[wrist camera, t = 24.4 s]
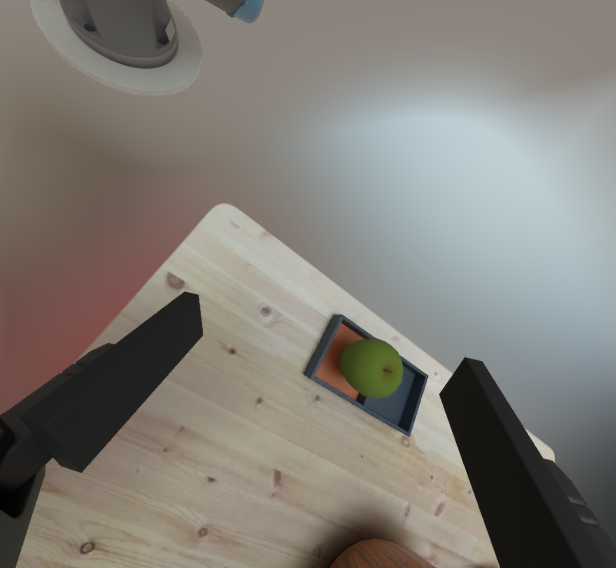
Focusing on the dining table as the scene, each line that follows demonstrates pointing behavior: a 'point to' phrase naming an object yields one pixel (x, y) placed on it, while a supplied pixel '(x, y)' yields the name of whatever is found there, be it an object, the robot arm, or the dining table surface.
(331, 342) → the tray
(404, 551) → the bowl
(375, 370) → the apple
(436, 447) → the dining table surface
